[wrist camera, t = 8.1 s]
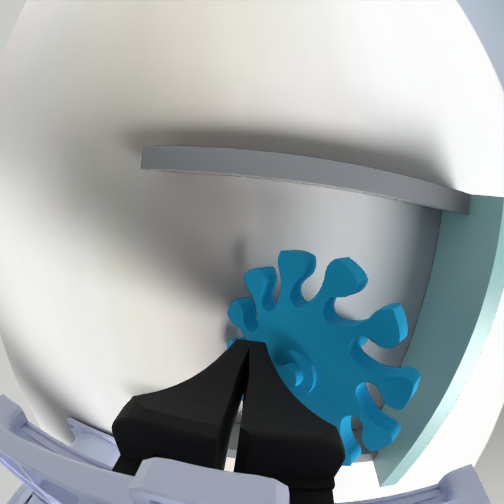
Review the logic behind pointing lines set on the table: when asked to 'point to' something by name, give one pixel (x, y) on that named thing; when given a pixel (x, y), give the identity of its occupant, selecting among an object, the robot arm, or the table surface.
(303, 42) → the table surface
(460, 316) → the grey open frame
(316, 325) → the gear
